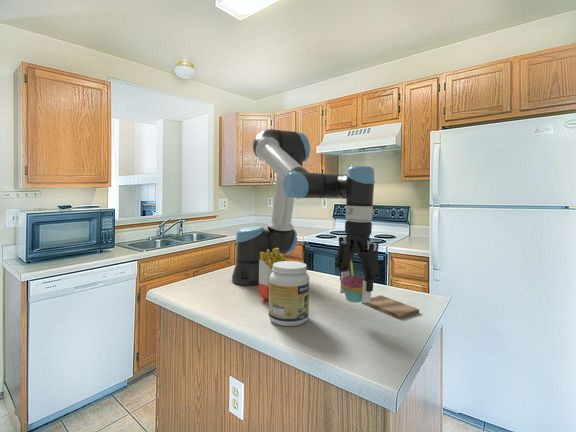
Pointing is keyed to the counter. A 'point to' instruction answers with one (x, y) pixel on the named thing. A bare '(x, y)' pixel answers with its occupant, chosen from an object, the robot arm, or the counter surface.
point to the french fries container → (267, 270)
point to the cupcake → (353, 287)
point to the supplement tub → (288, 293)
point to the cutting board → (392, 307)
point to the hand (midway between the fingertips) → (354, 296)
